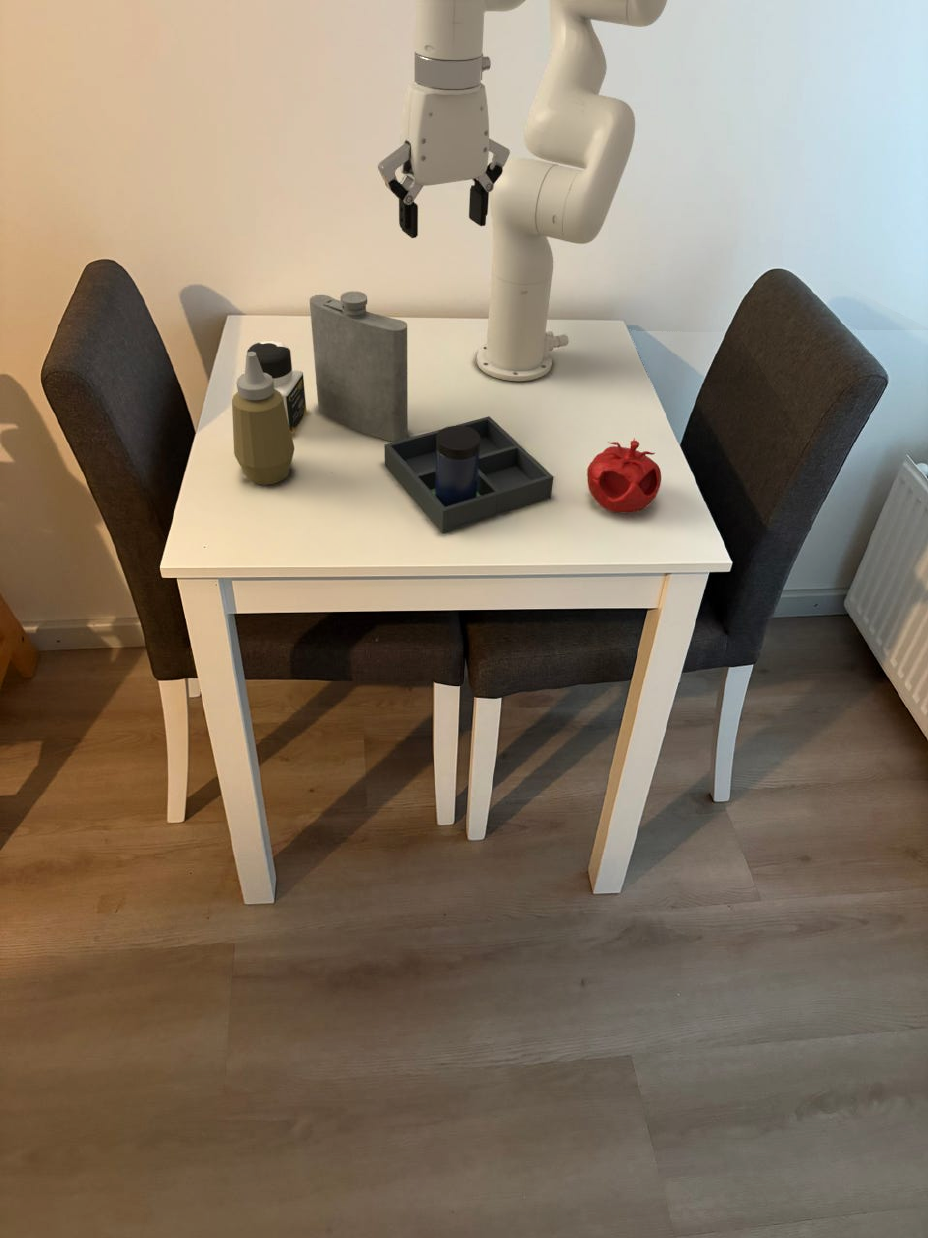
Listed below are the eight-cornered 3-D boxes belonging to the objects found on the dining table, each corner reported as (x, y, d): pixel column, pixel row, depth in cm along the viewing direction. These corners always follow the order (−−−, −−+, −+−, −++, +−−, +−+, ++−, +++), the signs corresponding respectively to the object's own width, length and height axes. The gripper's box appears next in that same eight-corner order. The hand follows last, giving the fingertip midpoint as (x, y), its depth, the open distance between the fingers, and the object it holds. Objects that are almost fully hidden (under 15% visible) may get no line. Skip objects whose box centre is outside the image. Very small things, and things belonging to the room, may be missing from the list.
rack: (487, 437, 133) (489, 415, 130) (551, 498, 122) (554, 476, 120) (384, 465, 126) (384, 444, 124) (442, 533, 116) (442, 511, 113)
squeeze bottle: (270, 497, 120) (253, 376, 107) (225, 477, 123) (204, 357, 110) (308, 469, 125) (297, 350, 112) (264, 450, 128) (248, 332, 115)
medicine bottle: (291, 437, 130) (283, 362, 122) (245, 430, 131) (234, 355, 123) (307, 412, 136) (300, 339, 127) (262, 406, 136) (253, 332, 128)
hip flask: (411, 435, 132) (411, 305, 118) (395, 447, 130) (394, 316, 116) (327, 401, 138) (318, 274, 124) (310, 413, 136) (299, 284, 122)
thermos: (463, 484, 123) (466, 421, 116) (483, 506, 119) (488, 442, 112) (427, 495, 120) (428, 431, 113) (447, 518, 117) (449, 453, 110)
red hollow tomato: (578, 478, 126) (587, 421, 120) (647, 478, 127) (659, 421, 120) (590, 522, 119) (600, 463, 113) (663, 521, 120) (677, 463, 113)
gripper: (496, 57, 105) (487, 208, 117) (363, 69, 99) (368, 227, 110) (530, 73, 101) (518, 228, 112) (393, 87, 94) (395, 250, 106)
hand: (443, 228), depth 111 cm, fingers open, 9 cm apart
